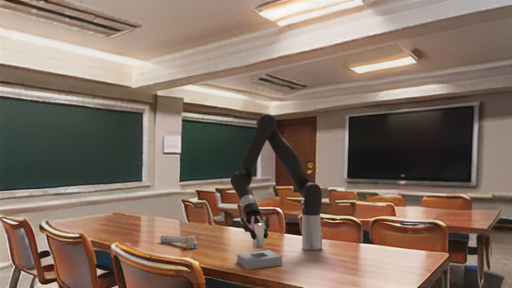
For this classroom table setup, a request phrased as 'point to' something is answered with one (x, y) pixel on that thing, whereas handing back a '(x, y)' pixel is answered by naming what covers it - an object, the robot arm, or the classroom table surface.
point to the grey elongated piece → (180, 240)
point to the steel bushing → (259, 235)
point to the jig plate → (259, 259)
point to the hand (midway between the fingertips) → (260, 238)
